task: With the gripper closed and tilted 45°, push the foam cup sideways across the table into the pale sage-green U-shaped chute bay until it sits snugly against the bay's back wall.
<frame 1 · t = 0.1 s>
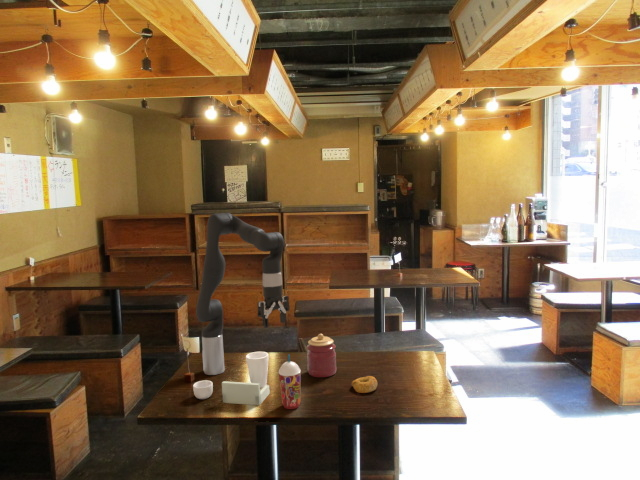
hand: (274, 325, 190), 29 cm above the table, tool pointing down, fingers open, 8 cm apart
smoothie: (291, 406, 184), on the table
canister: (322, 372, 217), on the table
bagel: (364, 389, 198), on the table
foam cup: (259, 385, 206), on the table
chute bay: (248, 395, 195), on the table
teacup: (204, 396, 197), on the table
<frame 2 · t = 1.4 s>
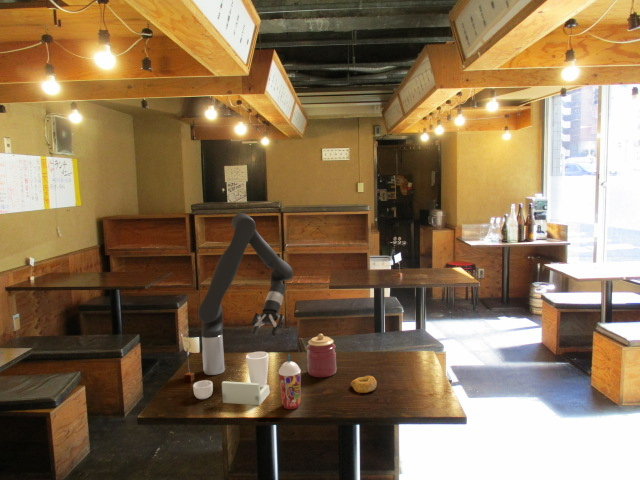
hand: (263, 335, 212), 19 cm above the table, tool tilted 45°, fingers open, 8 cm apart
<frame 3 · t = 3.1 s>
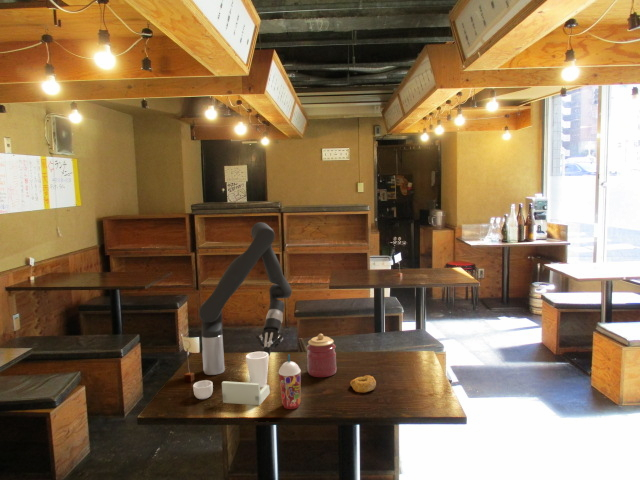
hand: (266, 356, 213), 10 cm above the table, tool tilted 45°, fingers closed
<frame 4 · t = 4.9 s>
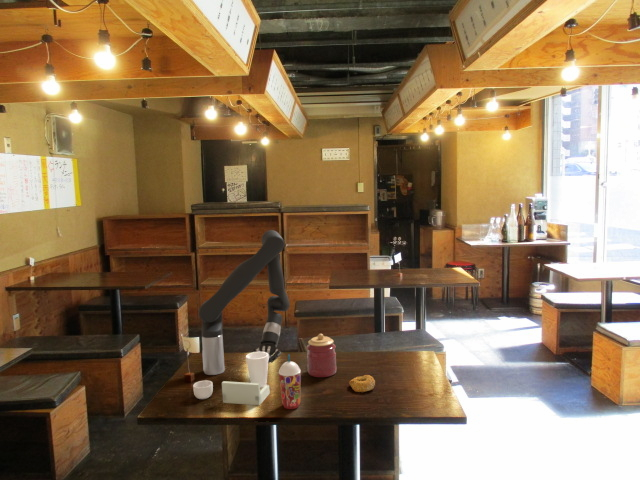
hand: (262, 370, 210), 4 cm above the table, tool tilted 45°, fingers closed
foam cup: (258, 385, 206), on the table, touching gripper
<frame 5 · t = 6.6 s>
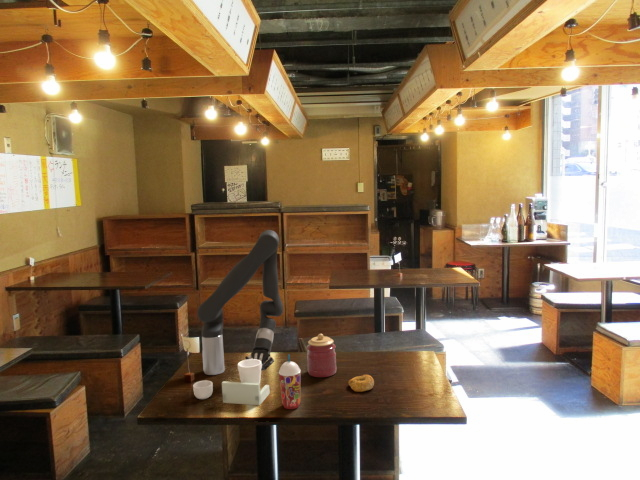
hand: (255, 379, 201), 4 cm above the table, tool tilted 45°, fingers closed
foam cup: (251, 394, 197), on the table, touching gripper
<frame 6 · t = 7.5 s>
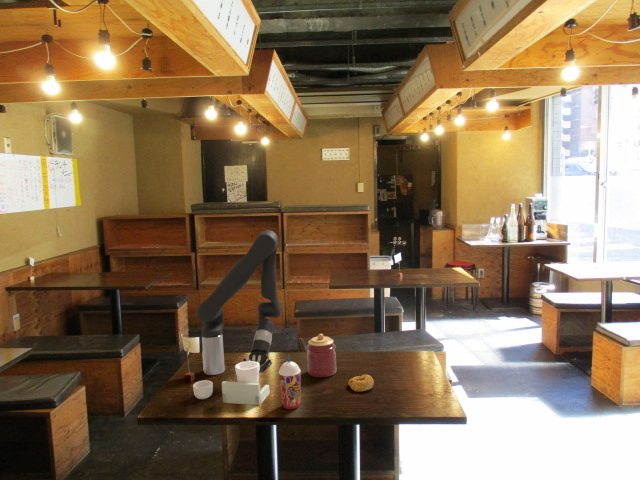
hand: (252, 381, 199), 4 cm above the table, tool tilted 45°, fingers closed
foam cup: (249, 397, 194), on the table, touching gripper
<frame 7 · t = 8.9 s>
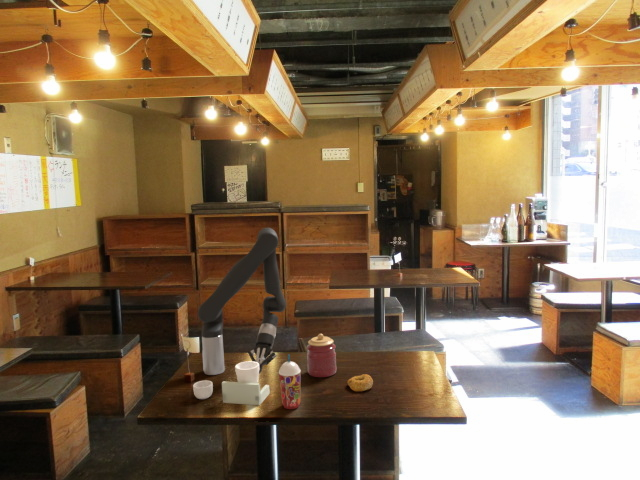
hand: (257, 373, 205), 5 cm above the table, tool tilted 45°, fingers closed
foam cup: (249, 397, 194), on the table
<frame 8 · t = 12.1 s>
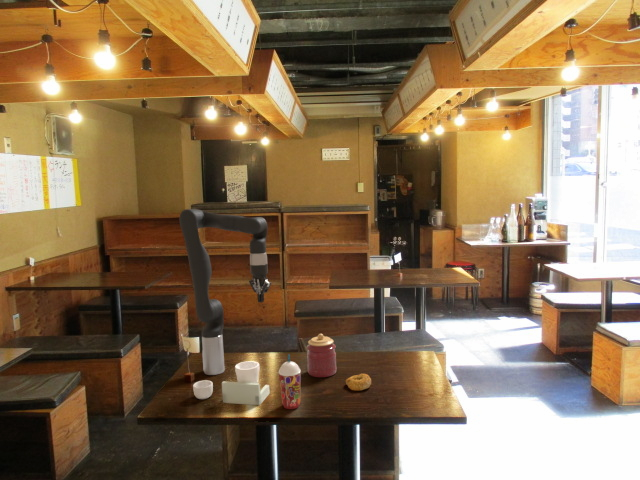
hand: (261, 302, 214), 33 cm above the table, tool pointing down, fingers closed
bagel: (358, 387, 200), on the table
everything else where it was.
at the end: foam cup 1.1 cm off-centre on the chute bay, point 0.0 cm above the chute bay's base; foam cup tilted 0°; foam cup moved 12.0 cm from its start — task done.
